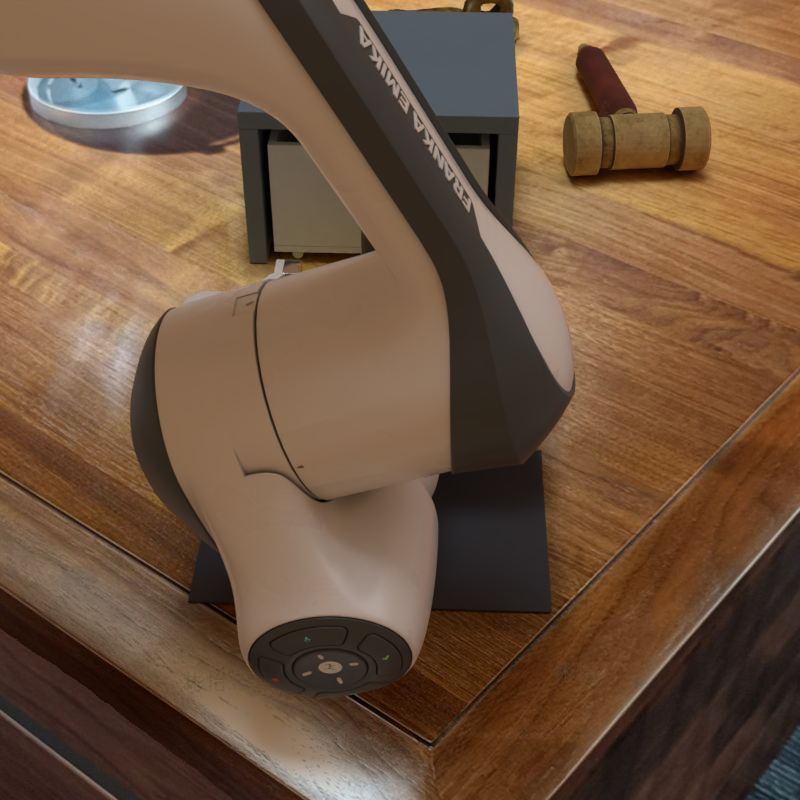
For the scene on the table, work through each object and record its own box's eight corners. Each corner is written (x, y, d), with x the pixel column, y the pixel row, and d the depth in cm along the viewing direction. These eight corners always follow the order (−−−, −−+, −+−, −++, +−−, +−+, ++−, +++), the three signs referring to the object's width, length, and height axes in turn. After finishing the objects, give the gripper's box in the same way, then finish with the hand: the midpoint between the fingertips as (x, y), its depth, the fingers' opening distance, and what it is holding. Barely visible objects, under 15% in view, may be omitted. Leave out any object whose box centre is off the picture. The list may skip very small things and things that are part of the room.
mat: (187, 602, 67) (187, 601, 67) (221, 443, 76) (221, 441, 76) (551, 613, 67) (551, 611, 67) (541, 451, 76) (541, 450, 76)
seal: (359, 85, 113) (531, 66, 115) (359, 35, 110) (536, 16, 112) (338, 27, 119) (502, 10, 122) (337, -22, 116) (505, -38, 118)
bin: (266, 304, 87) (257, 184, 81) (292, 171, 100) (286, 60, 94) (484, 309, 87) (490, 189, 81) (482, 175, 100) (487, 64, 94)
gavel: (525, 23, 112) (643, 18, 113) (522, 75, 115) (638, 70, 116) (577, 128, 95) (715, 121, 96) (572, 187, 98) (707, 180, 99)
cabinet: (249, 263, 91) (236, 111, 83) (274, 149, 103) (265, 8, 95) (509, 269, 90) (519, 116, 83) (504, 154, 102) (512, 12, 95)
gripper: (563, 380, 67) (550, 229, 77) (151, 369, 67) (194, 221, 78) (554, 474, 71) (543, 318, 81) (165, 463, 71) (204, 310, 82)
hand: (369, 270), depth 80 cm, fingers open, 8 cm apart
